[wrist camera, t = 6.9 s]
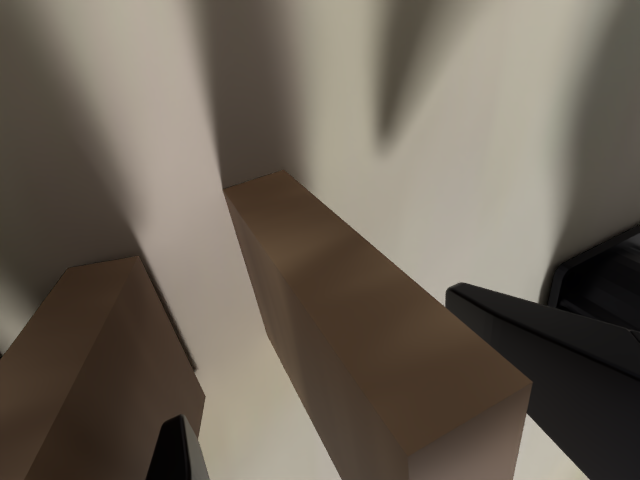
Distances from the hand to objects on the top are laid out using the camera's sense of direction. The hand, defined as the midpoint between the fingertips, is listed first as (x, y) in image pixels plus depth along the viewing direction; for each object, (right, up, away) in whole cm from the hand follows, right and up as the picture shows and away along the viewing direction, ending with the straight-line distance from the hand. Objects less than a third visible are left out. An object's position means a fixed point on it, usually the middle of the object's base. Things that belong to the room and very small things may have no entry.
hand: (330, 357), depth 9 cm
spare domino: (-1, +2, +2) cm, 3 cm away
